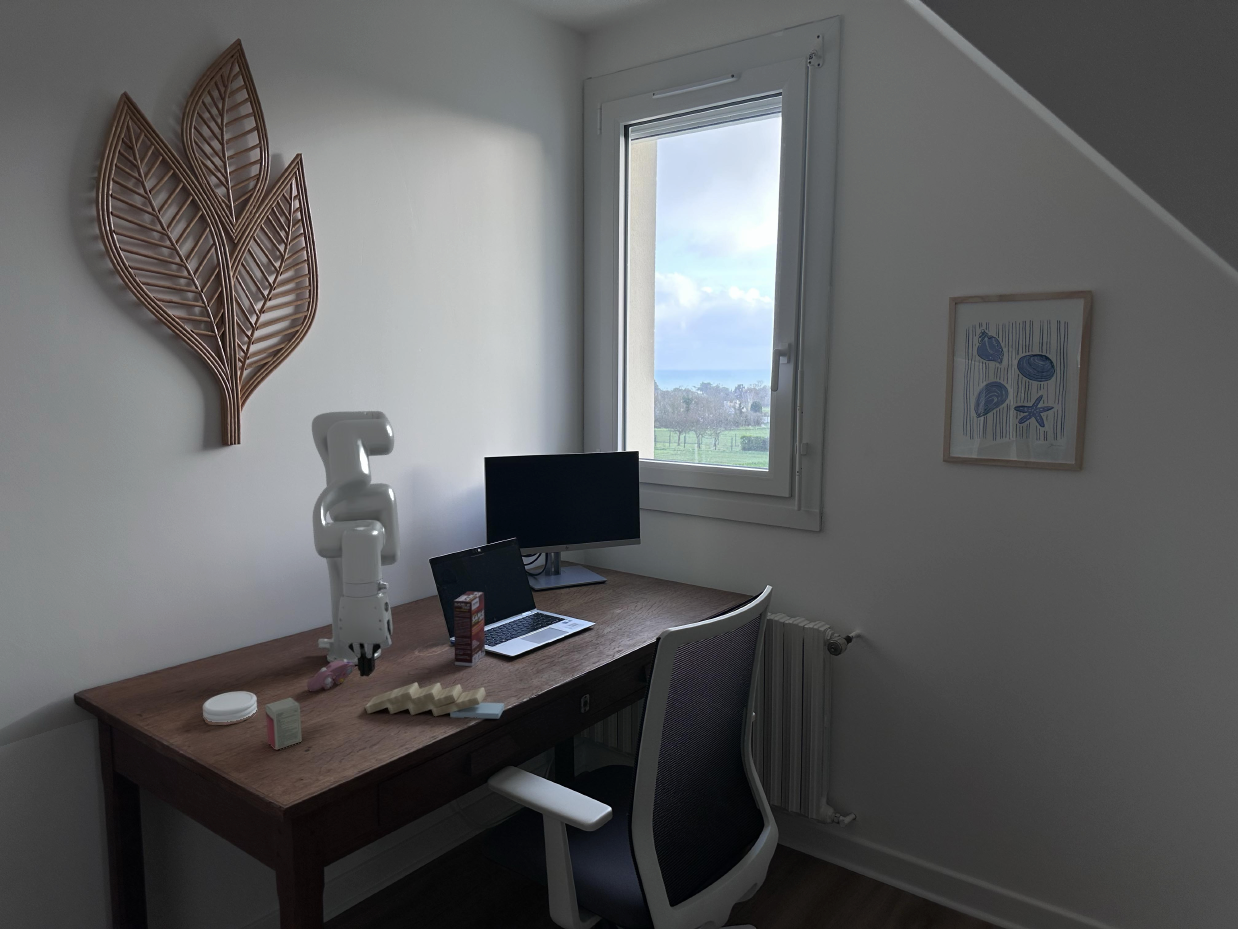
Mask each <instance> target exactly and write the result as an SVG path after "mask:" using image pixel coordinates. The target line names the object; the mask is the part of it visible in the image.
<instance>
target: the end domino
mask: <svg viewBox="0 0 1238 929" xmlns="http://www.w3.org/2000/svg"><path fill="white" fill-rule="evenodd" d="M504 709H505V703H503V702H481V703H480V704H479V705H476V706H472V707H468V708H465V709H461V710H457V711H453V712H450V713H449V714H450V716H449V717H450V718H464V717H475V718H474V719H493V720H494V719H500V717H501V715H502V713H503V711H504ZM476 717H477V718H476Z"/></svg>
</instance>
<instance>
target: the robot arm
mask: <svg viewBox="0 0 1238 929" xmlns="http://www.w3.org/2000/svg"><path fill="white" fill-rule="evenodd" d="M311 433H312V439H313V443H314V445H315V447H316V450H317V453H318V454H319V457H320V458H321V461H322V463H323V466H324V470H325V481H326V487H325V488H324V489H323V490H322V491H321V493H320V494H319V496H318V498H317V499H316V501H315V504H314V506H313V510H312V530H313V532H312V533H313V544H314V548H315V551H316V554H317V555H318V556H319V557H321V558H323V559H325V560H326V564H327V571H328V575H329V578H328V579H329V588H330V589H329V590H330V606H331V607H330V608H331V626H332V627H331V629H332V638H331V639H330V638H329V639H328V638H319V639H318V642H317V645H318V649H319V650H328V653H327V655H326V659H327V662H329V664H330V663H332V662H335V661H343V660H344V659H346V660H347V661H350V662H351V663H353V664H354V665H355V666H357V670H358V671H359V676H360V677H365V678H366V677H370V675H372V673H373V672H374V671H375V670H376V659H378V658H379V657H380V656H381V654H382V650H383V649H388V648H390V647H391V646H392V644H393V643H392V640H391V636H392V635H393V631H394V630H393V619H392V618H393V617H392V612H391V606H390V600H389V597H388V593H387V591H384V590H388V589H389V587H390V586H389V582H384V579H383V578H382V577H383V576H382V567H387V566H392V565H395V564H397V563H398V561H400V557H401V539H400V538H401V536H400V526H399V525H400V524H399V516H398V504H397V498H396V492H395V490H394V488H393V487H392V486H391V485H389V484H387V483H382V482H381V483H378V482H376V483H372V473H371V471H372V470H371V465H370V457H374V456H387V455H390V454H391V453H392V452H393V451H394V448H395V433H394V430H393V426H392V423H391V421H390V420H389V418H388V416H387V415H386V414H385V412H383V411H379V410H366V411H365V410H363V411H362V410H361V411H359V410H358V411H329V412H325V413H320V414H318V415H316V416H315V417H313V419H312V422H311ZM327 514H328V516H329V518H330V521H332V522H327Z"/></svg>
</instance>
